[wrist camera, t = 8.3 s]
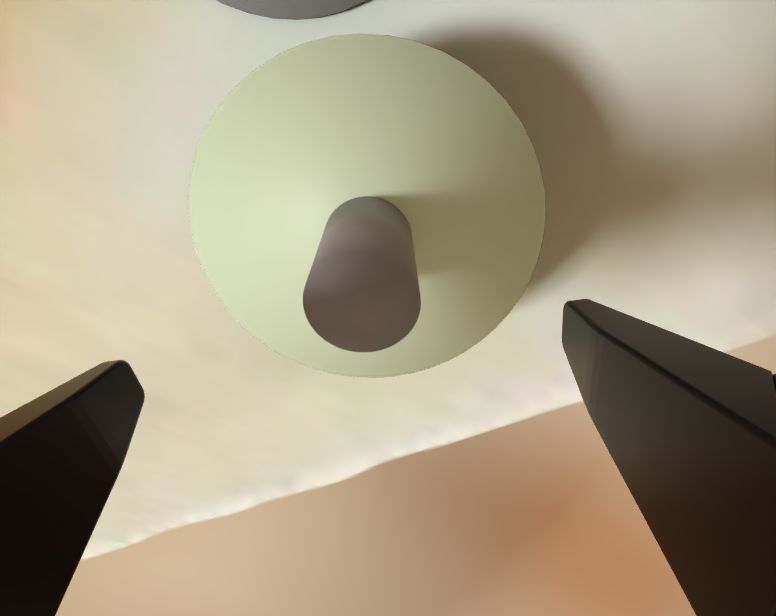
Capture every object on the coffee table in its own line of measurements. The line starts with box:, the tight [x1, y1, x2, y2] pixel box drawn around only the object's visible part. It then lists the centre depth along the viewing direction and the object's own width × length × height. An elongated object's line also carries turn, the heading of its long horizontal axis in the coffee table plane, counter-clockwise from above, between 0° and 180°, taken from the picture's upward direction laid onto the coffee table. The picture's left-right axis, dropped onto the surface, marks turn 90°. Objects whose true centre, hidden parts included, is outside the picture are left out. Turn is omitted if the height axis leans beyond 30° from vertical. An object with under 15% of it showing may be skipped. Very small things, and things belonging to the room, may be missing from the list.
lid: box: [188, 34, 546, 378], centre depth 14 cm, size 12×12×5 cm
